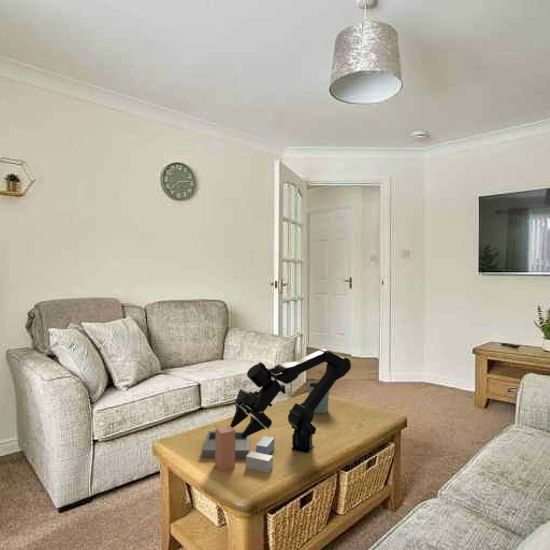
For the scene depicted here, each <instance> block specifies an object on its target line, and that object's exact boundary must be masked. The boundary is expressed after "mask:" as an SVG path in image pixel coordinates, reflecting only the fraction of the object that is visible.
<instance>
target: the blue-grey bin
mask: <svg viewBox="0 0 550 550" xmlns="http://www.w3.org/2000/svg"><path fill="white" fill-rule="evenodd" d="M318 382H319V381H314V382H310V383H307V391H308V395H309V394H310V393H311V392H312V390H313V389H314V387H315V386H316V385H317V383H318ZM329 397H330V390H329V391H328V392H327V394H326V395H325V397H324V398H323V399H322V401H321V402H320V404H319V405H318V406H317V408H316V409H315V411H314V414H316V413H324V414H327V413H328V412H327V411H329ZM326 412H327V413H326Z"/></svg>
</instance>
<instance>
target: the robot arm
mask: <svg viewBox="0 0 550 550" xmlns="http://www.w3.org/2000/svg"><path fill="white" fill-rule="evenodd" d="M323 363H326V368H325V372H324V374H323V376H322V377H321V378H320V379H319V380H318V381H317V382H318V383H317V385H316V386H315V387H314V389H313V390H312V392H311V393H310V394H309V393H308V396H307V397H306V398H305V399H304V401H303V402H301V403H300V404H299V403H297V402H295V404H293V406H292V408H291V409H290V410H289V411H288V412H289V413H288V416H287V422H288V423H289V425H291V428H292V429H293V434H292V436H291V437H292V439H291V440H292V444H291V445H292V447H291V450H293V451H298V452H302V453H303V452H304V453H309V452H310V451H311V450H312V449H313V448H314V443H313V435H315V434H316V431H317V427H316V426H314V424H313V420H314V416H315V415H314V414H315V413H314V411H315V409H316V408H317V406H318V405H319V404H320V402H321V401H322V399H323V398H324V397H325V395H326V394H327V392H328V391H329V392H330V390H331V388H332V387H333V386H334V384H335V383H336V382H337V381H338V380H339V379H342V378H344V377H345V375H347V374H348V373H349V371H350V370H351V368H352V366H351V365H352V363H351V360H350V359H349V358H348V357H345V356H341V355H339V354H335V353H334V352H331V351H330V350H328V349H325V348H320V349H318V351H315V352H313V353H311V354H308V355H306V356H304V357H302V358H299V359H297V360H294V361H290V362H283V363H278V364H277V365H275V366H274V367H271V368H267V366H266V365H265V364H264V363H263V362H261V361H259V362H258V363H257V364H254V365H252V366H251V367H250V368H248V370H247V373H246V376H247V377H248V379H249V380H250V381H251V382H252V383H253V384H254V385H255V386H256V387H258V388H260V389H259V390H258V391H257V390H255V391H247V390H244V389H242V388H240V389H239V391H238V393H237V396H236V399H235V400H234V406H235V413H234V416H233V418H232V420H231V423H230V424H229V425H230V426H231V427H232V428H233V429H235V427H236V426H238V425H239V424H240V423H242V422H243V421H244V420H245V419H247V418H248V417H249V414H251V415H250V421H249V422H248V425H247V426H246V427H245V428H244V430H243V431H242V432H243V433H242V435H241V437H242V438H245V437H247V436H249V435H250V436H252V435H254V434H255V433H258V432H259V431H262V430H264V431H265V430H266V429H267V430H269V429H270V427H271V426H272V424H273V423H272V419H271V418H270V417H269V416H268V415H267V414H266V413H265V411H266V410H267V408H268V407H269V408H271V407H272V406H273V403H272V402H273V401H274V400H275V398H276V397H277V396H278V395H279V394H280V393H282V394H283V395H285V394H286V392H287V391H286V385H288V384H291V383H292V382H294V381H295V380H297V379H298V377H299V376H300V375H301V374H302V373H304V372H306V371H309V370H310V369H313V368H315V367H317V366H320V365H321V364H323ZM280 382H281V383H283V384H281V383H280Z"/></svg>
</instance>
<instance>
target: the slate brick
mask: <svg viewBox="0 0 550 550" xmlns="http://www.w3.org/2000/svg"><path fill="white" fill-rule="evenodd" d="M275 440H276V439H275V437H272V436H266V435H265V436H263V437H262V438H261V439H260V440H259V441H258V443H256V445H255V448H256V449H255V452H257V453H262V454H267V455H270V454H271V453H272V451H274V449H275Z"/></svg>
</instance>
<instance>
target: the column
mask: <svg viewBox="0 0 550 550" xmlns="http://www.w3.org/2000/svg"><path fill="white" fill-rule="evenodd" d="M230 425H231V424H227V425H223V426H217V427H215V431H216V438H215V458H214V465H215V467H216V466H217V467H216V468H217V469H218V471H221V472H225V471H229V470H234V469H235V468H236V467H235V466H236V458H235V431H236V430H235V428H232V427H231V426H230Z"/></svg>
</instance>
